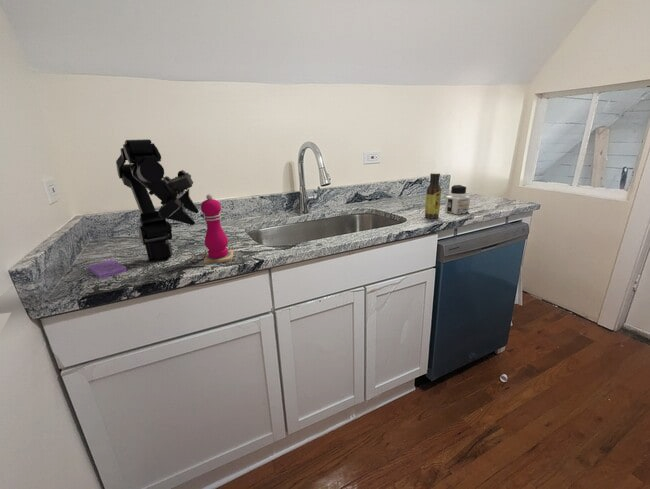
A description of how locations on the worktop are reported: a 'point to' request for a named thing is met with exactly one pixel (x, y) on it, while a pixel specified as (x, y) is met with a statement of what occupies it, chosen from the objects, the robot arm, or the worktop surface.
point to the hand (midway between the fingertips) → (196, 218)
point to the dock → (222, 259)
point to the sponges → (107, 268)
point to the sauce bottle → (433, 197)
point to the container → (457, 200)
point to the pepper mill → (214, 229)
